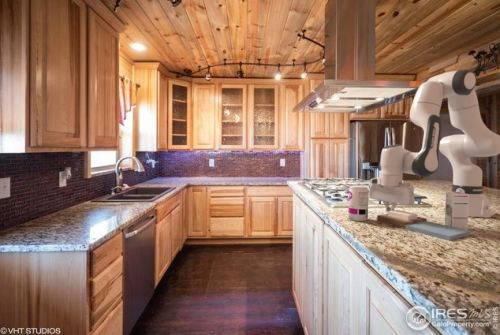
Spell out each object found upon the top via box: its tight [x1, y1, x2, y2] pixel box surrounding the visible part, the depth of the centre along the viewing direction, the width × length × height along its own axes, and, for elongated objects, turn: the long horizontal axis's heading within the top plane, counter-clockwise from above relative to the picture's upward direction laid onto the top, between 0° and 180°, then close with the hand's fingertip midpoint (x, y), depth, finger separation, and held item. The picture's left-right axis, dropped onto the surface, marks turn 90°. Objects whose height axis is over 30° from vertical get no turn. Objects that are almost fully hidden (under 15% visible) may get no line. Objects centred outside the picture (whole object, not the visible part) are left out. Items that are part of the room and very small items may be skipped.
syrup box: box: [444, 191, 469, 230], centre depth 108 cm, size 6×6×14 cm
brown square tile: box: [376, 213, 428, 229], centre depth 117 cm, size 14×13×2 cm
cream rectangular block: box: [387, 209, 418, 220], centre depth 117 cm, size 6×9×2 cm, turn 27°
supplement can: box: [347, 184, 369, 222], centre depth 123 cm, size 8×8×15 cm
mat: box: [404, 220, 472, 241], centre depth 104 cm, size 14×16×2 cm
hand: (389, 212), depth 122 cm, fingers closed
